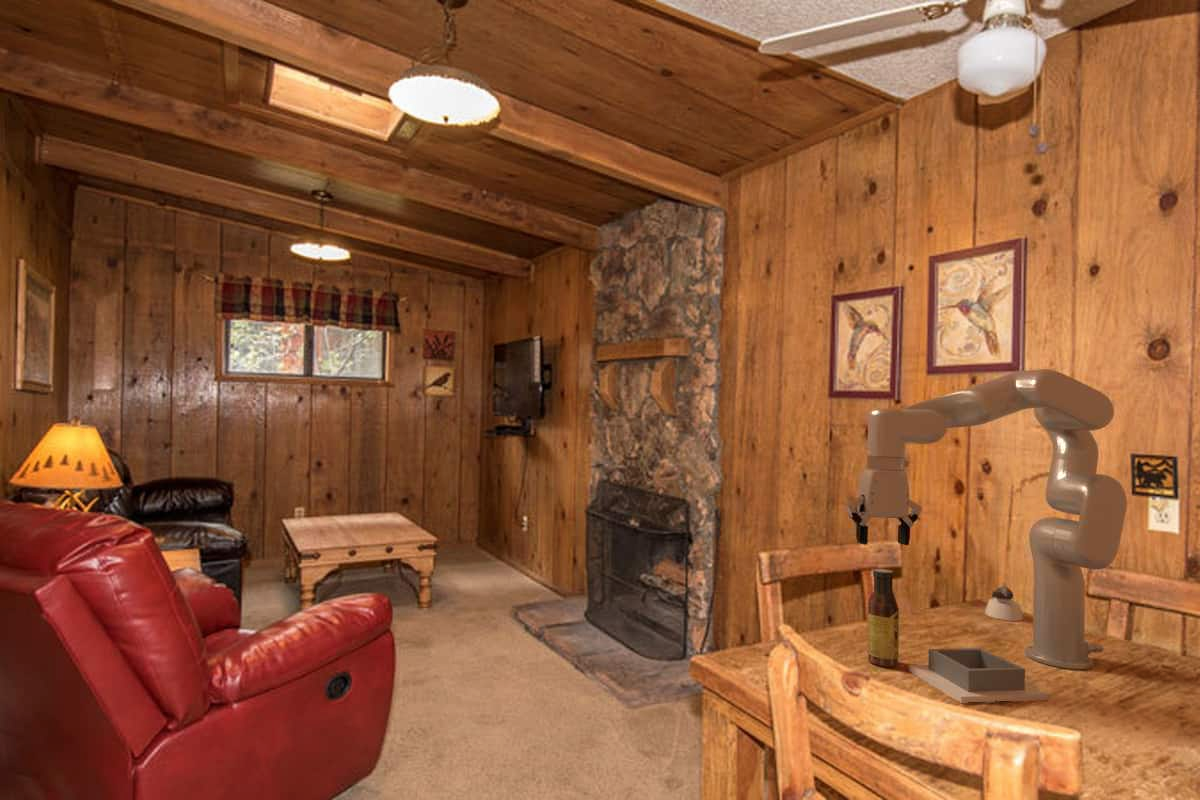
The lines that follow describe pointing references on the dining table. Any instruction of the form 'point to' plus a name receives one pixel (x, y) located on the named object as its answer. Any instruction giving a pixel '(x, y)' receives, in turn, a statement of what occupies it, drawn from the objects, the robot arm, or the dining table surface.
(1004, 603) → the inkwell
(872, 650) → the sauce bottle
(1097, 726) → the dining table surface
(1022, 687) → the bottle stand
